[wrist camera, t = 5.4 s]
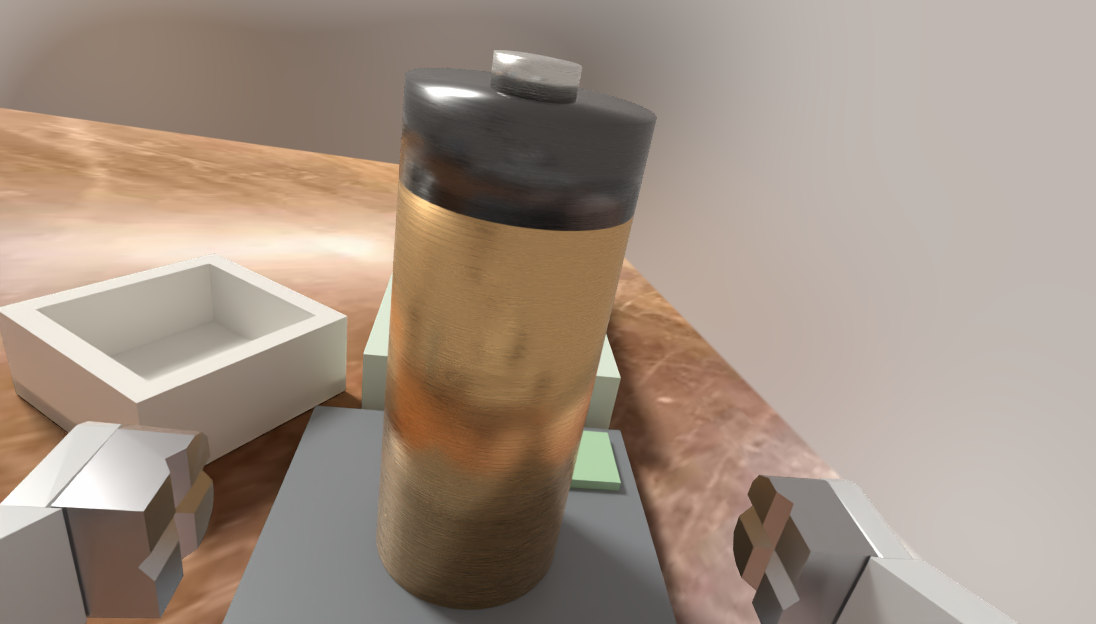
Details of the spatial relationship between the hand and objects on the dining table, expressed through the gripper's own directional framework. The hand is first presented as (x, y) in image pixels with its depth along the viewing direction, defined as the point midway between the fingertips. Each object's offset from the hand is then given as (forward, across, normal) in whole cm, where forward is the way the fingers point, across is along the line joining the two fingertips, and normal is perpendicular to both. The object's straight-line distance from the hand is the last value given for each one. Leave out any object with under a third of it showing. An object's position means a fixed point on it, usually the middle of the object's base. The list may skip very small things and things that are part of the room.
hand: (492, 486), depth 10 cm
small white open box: (+11, +9, +7) cm, 16 cm away
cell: (+5, 0, +6) cm, 8 cm away
